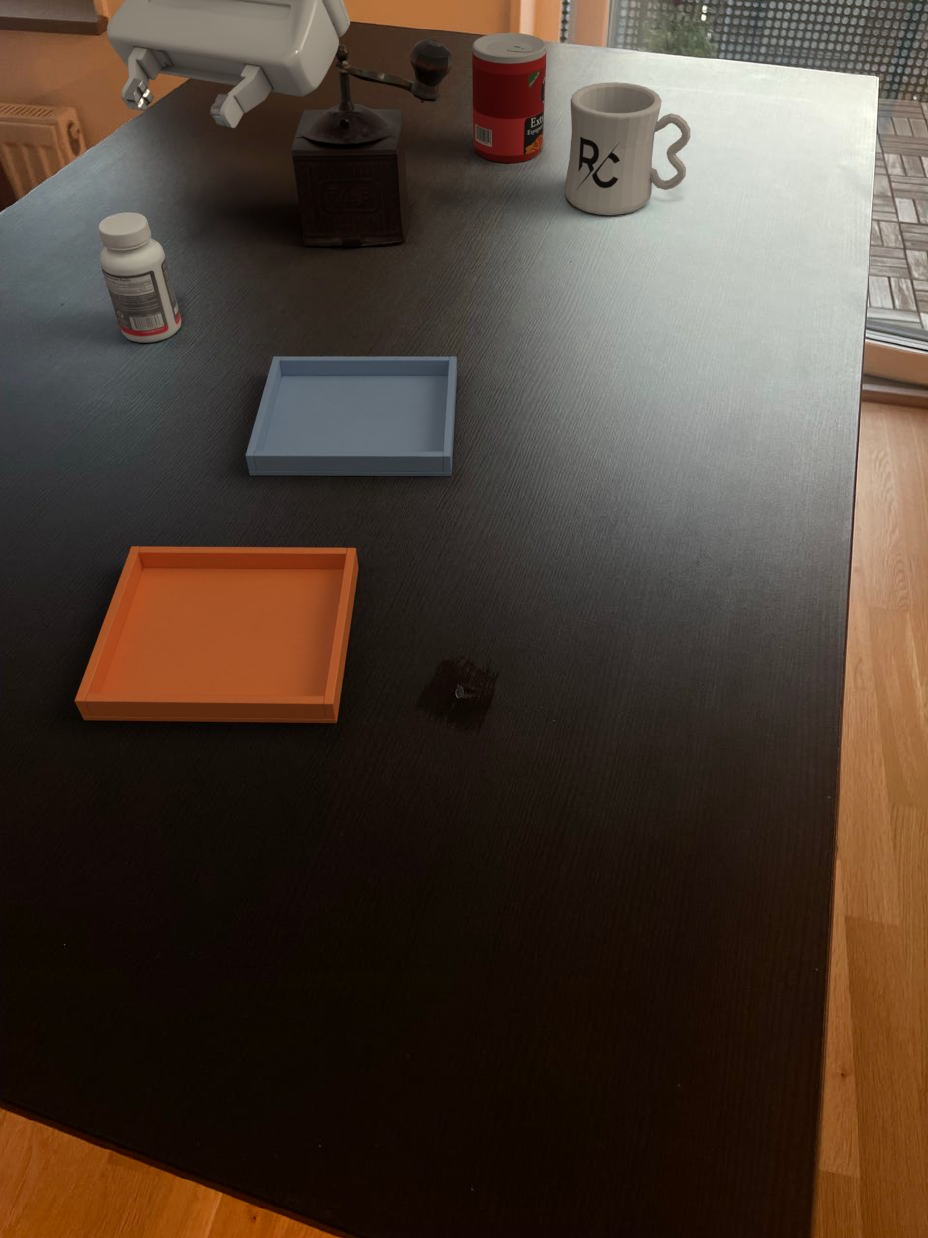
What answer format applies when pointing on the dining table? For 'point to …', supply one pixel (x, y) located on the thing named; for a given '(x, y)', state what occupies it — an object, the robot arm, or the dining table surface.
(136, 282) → the pill bottle
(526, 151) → the canned food
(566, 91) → the dining table surface
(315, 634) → the orange tray
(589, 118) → the mug
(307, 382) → the blue tray
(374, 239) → the manual coffee grinder
